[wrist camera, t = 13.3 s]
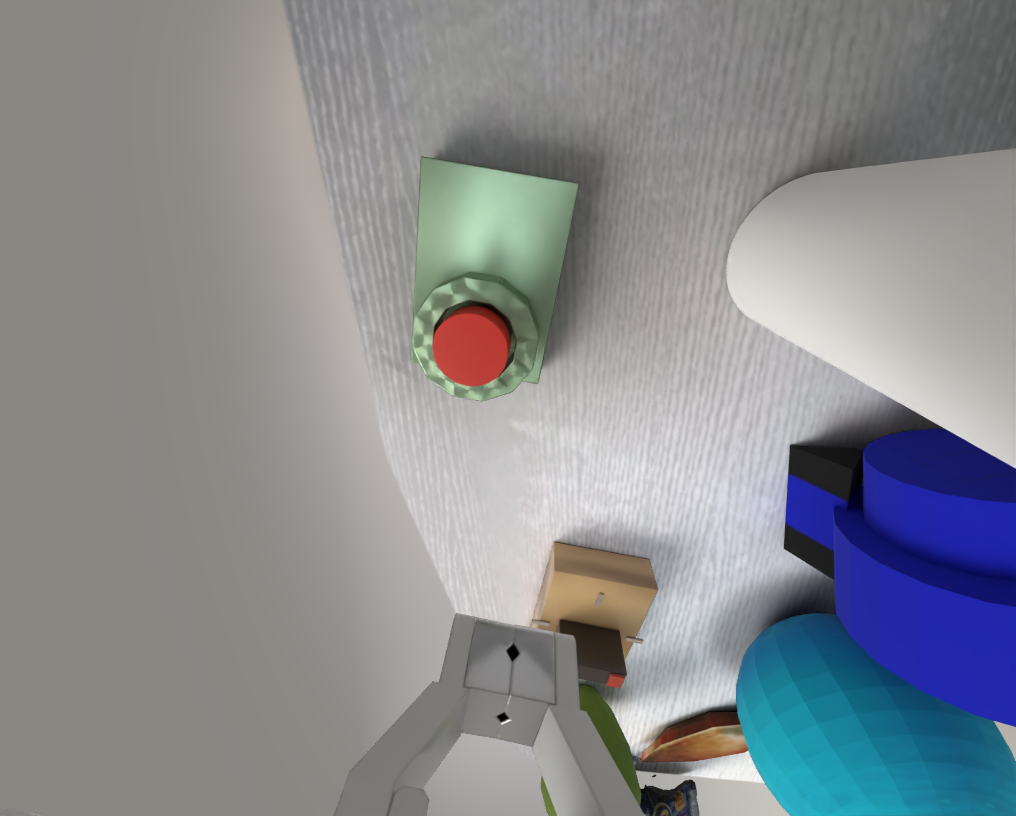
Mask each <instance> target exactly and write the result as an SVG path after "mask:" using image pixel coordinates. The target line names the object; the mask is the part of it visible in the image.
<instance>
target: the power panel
mask: <svg viewBox="0 0 1016 816" xmlns="http://www.w3.org/2000/svg"><path fill="white" fill-rule="evenodd" d="M657 591H658V588H657V584H656V581H655V577H654V574H653V570H652V567H651V563H650V560H649V559H644V558H638V557H633V556H627V555H622V554H616V553H611V552H605V551H600V550H594V549H589V548H583V547H578V546H572V545H567V544H562V543H556V542H554V544H553V547H552V551H551V555H550V558H549V562H548V565H547V569H546V573H545V576H544V580H543V583H542V587H541V591H540V594H539V598H538V601H537V605H536V609H535V612H534V616H533V619H532V623H531V626H530V627H531V628H537V629H542V630H548V631H553V632H555V633H556V629H557V626H558V623H559V620H565V621H570V622H575V623H581V624H586V625H591V626H597V627H602V628H607V629H613V630H618V631H620V636H621V642H622V648H623V654H624V660H625V659H626V657H627V655H628V653H629V650H630V648H631V646H632V644H633V642H636V643H641V644H642V643H643V639H639V638H636V636H637V633H638V631H639V629H640V627H641V625H642V623H643V621H644V619H645V616H646V614H647V612H648V610H649V608H650V606H651V604H652V601H653V599H654V597H655V595H656V593H657Z"/></svg>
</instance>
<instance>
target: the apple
mask: <svg viewBox="0 0 1016 816" xmlns="http://www.w3.org/2000/svg"><path fill="white" fill-rule="evenodd" d="M579 703H580V710H582V711H586V712H587V714H588V716H589V717H590V719H591V721H592V723H593V725H594V726H595V728H596V730H597V732H598V733H599V735H600V737H601V739H602V741H603V742H604V744H605V746H606V748H607V749H608V751H609V753H610V755H611V757H612V758H613V760H614V762H615V764H616V765H617V767H618V769H619V771H620V773H621V774H622V776H623V778H624V780H625V781H626V783H627V785H628V787H629V788H630V790H631V792H632V794H633V796H634V797H635V799H636V801H637V803H638V804H639V806H640V802H641V791H640V787H639V783H638V779H637V775H636V771H635V767H634V763H633V759H632V755H631V751H630V747H629V745H628V743H627V740H626V738H625V736H624V734H623V732H622V730H621V728H620V726H619V724H618V722H617V720H616V718H615V715H614V713H613V711H612V709H611V708H610V707H609V706H608V704H607V703H606V702H605V701H604V699H603V698H602V697H601V696H600V694H599V693H598V692H597V691H596V690H595V689H594V688H592V687H591V686H588V685H580V686H579ZM541 790H542V793H543V798H544V802H545V806H546V810H547V813H548V815H549V816H557V814H556V811H555V808H554V806H553V803H552V801H551V798H550V795H549V793H548V790H547V787H546V785H545V782H544V779H543V777H542V779H541Z"/></svg>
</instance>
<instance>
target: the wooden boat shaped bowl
mask: <svg viewBox="0 0 1016 816" xmlns="http://www.w3.org/2000/svg"><path fill="white" fill-rule="evenodd" d="M746 751H748V748H747V744H746V741H745V737H744V734H743V731H742V727H741V724H740V720H739V717H738V712H707V713H705V714H702V715H700V716H697V717H695V718H692V719H690V720H687V721H684V722H682V723H679V724H677V725H674V726H672V727H669V728H667V729H665V730H664V732H663V733H662V735H661V736H660V737H659V738H658V739H657V740H656V741H655V742H654V743H652V744H651V745H650V746H649V747H648V748H647V749H646V750H645V751H643V752H642V758H641V762H685V761H699V760H704V759H710V758H716V757H721V756H727V755H733V754H738V753H744V752H746Z"/></svg>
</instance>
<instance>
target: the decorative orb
mask: <svg viewBox="0 0 1016 816" xmlns="http://www.w3.org/2000/svg"><path fill="white" fill-rule="evenodd" d="M736 704H737V711H738V717H739V720H740V724H741V727H742V731H743V734H744V737H745V741H746V744H747V748H748V751H749V753H750V755H751V757H752V760H753V762H754V764H755V767H756V769H757V770H758V772H759V774H760V776H761V777H762V779H763V781H764V782H765V784H766V786H767V787H768V789H769V790H770V791H771V793H772V794H773V795H774V796H775V798H776V799H777V801H778V802H779V803H780V805H781V806H782V807H783V808H784V809H785V810H786V812H787V813H789V815H790V816H1016V761H1015V759H1014V757H1013V754H1012V752H1011V750H1010V748H1009V746H1008V745H1007V743H1006V742H1005V740H1004V738H1003V736H1002V734H1001V733H1000V731H999V730H998V728H997V726H996V725H995V723H994V721H993V720H990V719H986V718H983V717H979V716H976V715H973V714H971V713H969V712H967V711H965V710H962V709H960V708H958V707H956V706H953V705H951V704H949V703H947V702H945V701H942V700H940V699H938V698H936V697H934V696H931V695H929V694H927V693H925V692H922V691H920V690H919V689H917V688H916V687H914V686H913V685H911V684H910V683H908V682H906V681H905V680H903V679H902V678H900V677H899V676H897V675H896V674H894V673H893V672H891V671H889V670H888V669H886V668H885V667H883V666H882V665H880V664H879V663H877V662H876V661H875V660H874V659H873V658H872V657H871V656H870V655H869V654H868V653H867V652H866V651H865V650H864V649H863V648H862V647H861V646H860V645H859V644H857V643H856V642H855V641H854V640H853V639H852V638H851V637H850V635H849V634H848V632H847V630H846V629H845V627H844V625H843V623H842V622H841V620H840V618H839V617H838V615H837V614H822V613H811V614H805V615H798V616H793V617H790V618H787V619H785V620H782V621H779V622H777V623H775V624H774V625H772V626H770V627H769V628H767V629H766V630H764V631H763V632H762V633H761V634H760V635H759V636H758V637H757V638H756V640H755V641H754V642H753V643H752V644H751V645H750V647H749V648H748V649H747V651H746V653H745V655H744V657H743V661H742V664H741V668H740V671H739V675H738V680H737V684H736Z"/></svg>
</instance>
